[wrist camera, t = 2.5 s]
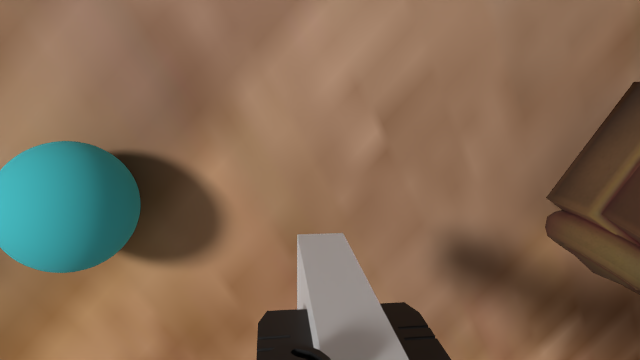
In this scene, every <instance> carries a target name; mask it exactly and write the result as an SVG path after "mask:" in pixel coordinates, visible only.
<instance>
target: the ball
mask: <svg viewBox="0 0 640 360" xmlns="http://www.w3.org/2000/svg"><path fill="white" fill-rule="evenodd" d="M140 209H141V202H140V194H139V190H138V186H137V184H136V181H135V179H134V177H133V176H132V174H131V172H130V171H129V170H128V169H127V167H126V166H125V165H124V164H123V163H122V162H121V161H120V160H119V159H117V158H116V157H115V156H113V155H112V154H110V153H109V152H107V151H105V150H103V149H101V148H98V147H96V146H93V145H90V144H86V143H81V142H72V141H59V142H51V143H46V144H42V145H38V146H35V147H33V148H30V149H28V150H26V151H24V152H22V153H20V154H19V155H17V156H16V157H14V158H13V159H12V160H10V161H9V162H8V163H7V164H6V165H5V166H4V167H3V168H2V169H1V171H0V248H1V249H2V250H3V251H4V252H5V253H6V254H8V255H9V256H10V257H11V258H13V259H14V260H16V261H18V262H19V263H21V264H23V265H25V266H28V267H31V268H34V269H37V270H41V271H45V272H55V273H67V272H75V271H80V270H84V269H88V268H91V267H94V266H96V265H98V264H100V263H102V262H104V261H106V260H108V259H109V258H111V257H112V256H113V255H115V254H116V253H117V252H118V251H119V250H120V249H121V248H123V246H124V245H125V244H126V243H127V242H128V240H129V239H130V237H131V236H132V234H133V233H134V230H135V228H136V226H137V223H138V219H139V216H140Z"/></svg>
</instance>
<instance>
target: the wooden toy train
mask: <svg viewBox="0 0 640 360" xmlns="http://www.w3.org/2000/svg"><path fill="white" fill-rule="evenodd" d="M546 198H547V199H549V200H550V201H551V202H553V203H554V204H555V205H557V206H558V207H560V208H561V209H562V210H561V211H557V212H554V213H553V214H551V215H550V216H548V217H547V221H546V226H545V228H546V232H547V235H548V237H550V238H551V239H552V240H553V241H555V242H556V243H558V244H559V245H560V246H562V247H563V248H565V249H566V250H568V251H569V252H571V253H572V254H574V255H575V256H576V257H577V258H578V259H579V260H580V261H581V262H582V263H584V264H585V265H586V266H587V267H588V268H589V269H590V270H591V271H592V272H593V273H595V274H598V275H600V276H602V277H605V278H607V279H610V280H612V281H615V282H617V283H620V284H622V285H624V286H625V287H627V288H629V289H630V290H632V291H634V292H636V293H637V294H639V295H640V82H634V83H633V84H632V85H631V87H630V88H629V89H628V90H627V92H626V93H625V94H624V96H623V97H622V98H621V100H620V101H619V102H618V104H617V105H616V106H615V108H614V109H613V110H612V112H611V113H610V114H609V116H608V117H607V118H606V119H605V121H604V122H603V123H602V125H601V126H600V127H599V129H598V130H597V131H596V133H595V134H594V135H593V137H592V138H591V139H590V141H589V142H588V143H587V145H586V146H585V147H584V148H583V150H582V151H581V152H580V154H579V155H578V156H577V158H576V159H575V160H574V162H573V163H572V164H571V166H570V167H569V168H568V170H567V171H566V172H565V174H564V175H563V176H562V177H561V179H560V180H559V181H558V183H557V184H556V185H555V187H554V188H553V189H552V191H551V192H550V193H549V195H548V196H547V197H546Z"/></svg>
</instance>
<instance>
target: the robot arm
mask: <svg viewBox="0 0 640 360" xmlns="http://www.w3.org/2000/svg"><path fill="white" fill-rule="evenodd" d="M257 360H451V359H450V357H449V356H448V354H447V353H446V351H445V350H444V348H443V347H442V345H441V344H440V343H439V341H438V340H437V339H435V335H434V334H433V332H432V331H431V329H430V328H428V325H427V323H426V322H425V320H424V319H423V317H422V316H421V314H420V313H419V312H418V311H416V310H415V309H413V308H412V307H410V306H409V305H407V304H406V303H404V302H402V303H383V304H380V303H379V301H378V299H377V297H376V296H375V294H374V292H373V290H372V288H371V286H370V284H369V282H368V280H367V278H366V276H365V274H364V272H363V271H362V269H361V267H360V265H359V263H358V261H357V259H356V257H355V255H354V253H353V251H352V249H351V248H350V246H349V244H348V242H347V240H346V238H345V236H344V234H343V233H333V234H300V235H297V310H278V311H267V312H266V313H265V315H264V316H263V317H262V319H261V320H260V321H259V323H258V340H257Z"/></svg>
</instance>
